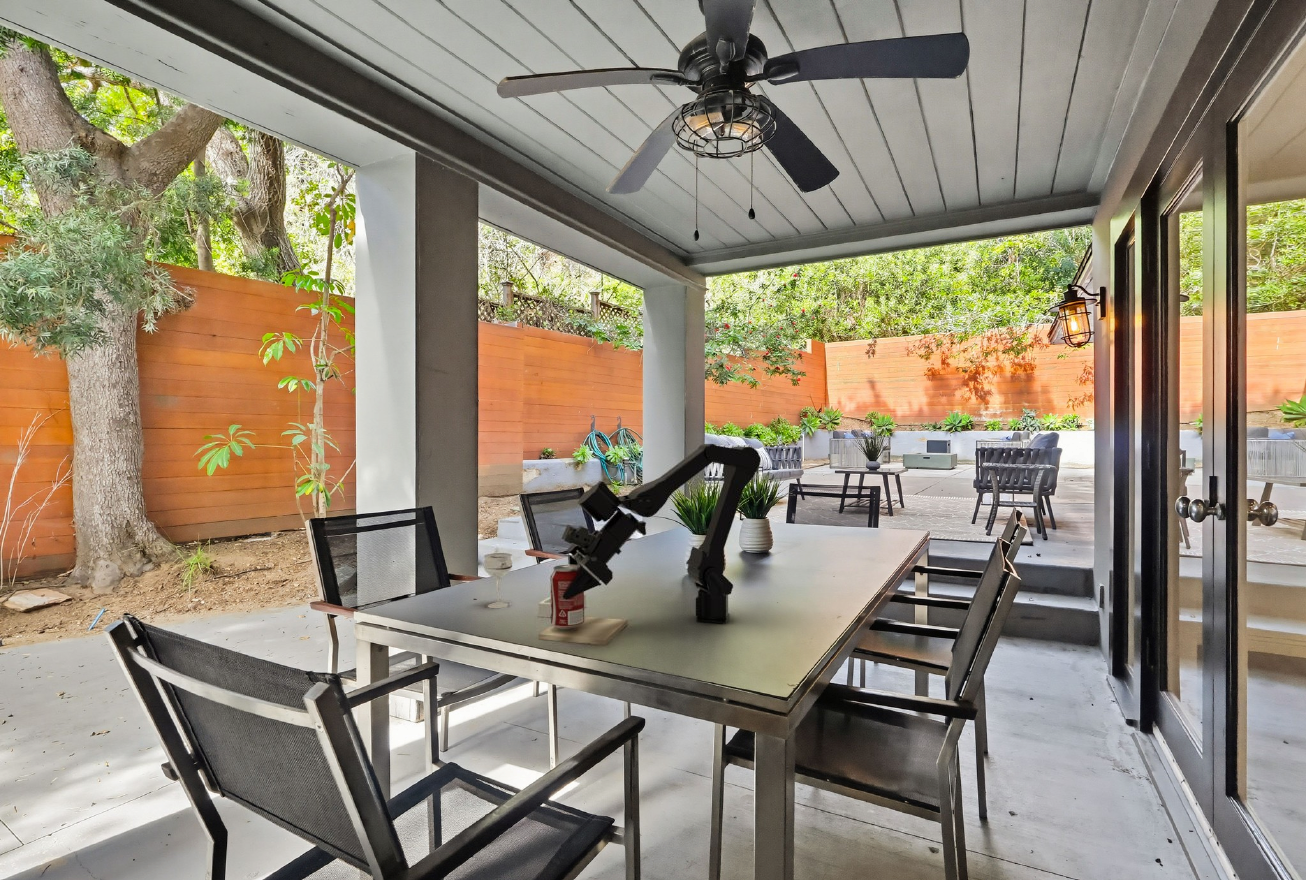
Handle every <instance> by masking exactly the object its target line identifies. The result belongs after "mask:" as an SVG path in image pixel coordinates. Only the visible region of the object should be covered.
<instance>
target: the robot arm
mask: <svg viewBox="0 0 1306 880" xmlns="http://www.w3.org/2000/svg"><path fill="white" fill-rule="evenodd" d="M761 459H762V457H761V456H760V454H759V452H758V450H757V449H756V448H754V447H751V446H733V447H729V446H728V447H727V446H721V445H716V444H714V443H702V444H699V446H698V448H697V449H696V450H694V451H693V452H691V453H690V454H689V455H688V456H687V457H685V458H684V459H683V460H681V461H680V462H678V463H677V464H676V465H674V466H673V467H671V468H670V469H669V470H668V471H666V472H665V473H664V474H662V475H661V476H660V477H658V478H656V479H654V480H651V481H649V482H646V483H643V484H642V485H640V486H638V487H635V488H634V489H632V490H631V491H630V492H628V494H625V495H620V496H619V495H618V496H617V495H616V493H614V492H613V491H612V490H611V489H610V488H609V487H608V485H607V484H606V483H605V482H604V481H601V480H599V481H598V482H597V483H596V484H595V485H593V486H592V487H590V488H589V489H588V490H586V491H585V492H584V493H583V494H582V495H581V496H580V498H579V500H578V501H577V504H578V506H580V507H581V508H582V509H583V510H584V511H585V512H586V514H588V515H589V516H590V517H592V519H593V520H594V521H595V522H598V523H599V522H601V521H602V522H604V523H605V522H606V523H605V524H604V525H602V527H601V529H599V530H598V529H596V530H593V532H592V533H590V531H589V530H590V529H588V527H584V526H582V525H580V526H579V527H578V528H577V527H575V526H572V525H570V524H567V525H566V527H565V530H564V532H563V534H562V537H561V539H562V540H563V541H564V542H566V543H568V544H571V545H570V546H569V547H568V549H566V550H567V552H568V553H567V559H568V560H567V565H577V575H576V576H575V577H574V579H573V580H572V582H571V583H570V585H569V586H568V588H567V589H566V591H565V592H564V594H563V596H562V597H563V598H564V599H565V600H567V599H569V598H572V597H574V596H576V595H578V594H580V593H582V592H584V593H585V592H586V591H589V590H592V589H593V588H596V587H600V586H602V583H603V584H604V585H605V586H608V584H609V583H610V582H611V581H612V580H613V578H614V577H613V576H614V575H613V571H612V570H611V568H609V565H608V563H609V562H610V560H612V558H613V557H614V556H615V555H620V554H621V553H622V550H621V549H622V547H623V546H624V545H625V544H626V543H627V541H628V540H629V539H630V538H631V537H632V536H633V534H635V532H637V533H639V534H640V535H643V536H646V535H647V528H646V524H647V523H646V521H643V520H640V521H639V520H638V519H637V518H636V517H635V516H634V515H637V516H640V517H643V518H652V517H653V516H655V515H656V514H657V513H658V512H659V511H661V509H662V507H664V505H666V503H667V502H668V500H669V498H670V497H671V496H672V494H673V493H674V492H675V491H676V490H678V489H680V488H681V487H682V486H683V485H685V484H686V483H687V482H689V481H690V480H691V479H692V478H694V477H696V476H697V475H698V474H699V473H700V472H701V471H703V470H704V469H706V468H707V467H708V466H710V465H711V464H712V463H714V464H719V465H723V467H722V473H723V484H722V487H721V491H720V493H719V496H718V499H717V502H716V504H715V507H714V510H713V514H712V516H711V519H710V522H709V525H708V528H707V532H706V534H705V537H704V541H703V542H702V543H701V545H700V546H699V547H698V548H697V547H695V546H692V547H691V549H690V554H689V557H688V559H687V561H686V563H685V564H686V565H687V569H686V571H687V572H686V573H687V575H688V577H689V578H690V579H691V580H692V581H694V585H695V587H696V588H697V589H698V591H697V596H696V597H695V617H696V618H695V619H696V622H701V623H703V622H704V623H715V624H717V623H718V624H726V623H727V622H728V620H729V618H730V616H731V613H729V595H731V594H732V591H733V589H734V584H733V583H732V582H731V581H730V580H729V579H728V578H727V577H726V576H725V575H724V571H725V565H726V562H725V547H726V544H727V541H728V537H729V535H730V531H731V528H732V526H733V522H734V520H735V517H736V514H737V511H738V508H739V504H740V502H741V498H742V495H743V492H744V489H745V488H746V487H747V486H748V484H750V483H751V481H752V480H753V478H754V477H755V475H756V473H757V471H758V469H759V467H760V465H761V461H762V460H761ZM620 508H623V509H626V510H627V511H628V510H629V511H630V512H627V513H625V512H624V511H623V510H621V509H620ZM633 514H634V515H633ZM601 582H602V583H601Z"/></svg>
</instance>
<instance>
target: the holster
mask: <svg viewBox="0 0 1306 880" xmlns="http://www.w3.org/2000/svg"><path fill="white" fill-rule="evenodd" d="M537 607H538V609H537V610H538V612H537V613H538V616H537V617H541V618H550V617H551V595H550V596H548V597H547V598H545V599H544V600H542V601H540V602H538V606H537ZM584 607H585V608H587V593H584Z"/></svg>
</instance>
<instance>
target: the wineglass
mask: <svg viewBox="0 0 1306 880" xmlns="http://www.w3.org/2000/svg"><path fill="white" fill-rule="evenodd" d="M512 556H513V554H512V553H506V552H505V553H504V552H496V553H495V552H494V553H489V554H488V553H487V554H484V555H483V559H484V560H483V570H484V571H485V573H487V574H488V576H490V577H493V578H494V579H495V580H496V581H495V582H496V598H497V599H496V602H493V603H490V604H488V605H487V607H488V608H490V609H501V608H507V607H508V606H509V605H508V603H506V602H501V601H500V583H501V582H500V581H501V579H502V577H504V576H507V574H508V573H509V572H510V571H511V570H512V567H513V560H512V559H511V558H512Z"/></svg>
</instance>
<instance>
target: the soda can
mask: <svg viewBox="0 0 1306 880" xmlns="http://www.w3.org/2000/svg"><path fill="white" fill-rule="evenodd" d="M576 575H577V565H568V564H561V565H560V564H559V565H556V566H554V567H553V570H552V573H551V575H550V596H551V618H550V624H551V626H552V625H553V626H555V627H556V628H558V629H574V628H577V627H579V626H580V625H582V624H583V623H584V617H585V608H584V594H585V591H584V592H582V593H580V594H578V595H576V596H574V597H572V598H569V599H567V600H565V599H564V598H563V597H562V596H563V594H564V592H565V591H566V589H567V588H568V586H569V585H570V583H571V582H572V580H573V579H574V577H575V576H576Z"/></svg>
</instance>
